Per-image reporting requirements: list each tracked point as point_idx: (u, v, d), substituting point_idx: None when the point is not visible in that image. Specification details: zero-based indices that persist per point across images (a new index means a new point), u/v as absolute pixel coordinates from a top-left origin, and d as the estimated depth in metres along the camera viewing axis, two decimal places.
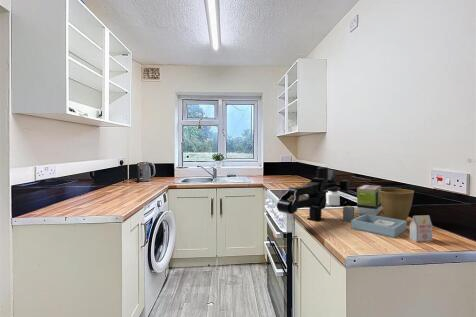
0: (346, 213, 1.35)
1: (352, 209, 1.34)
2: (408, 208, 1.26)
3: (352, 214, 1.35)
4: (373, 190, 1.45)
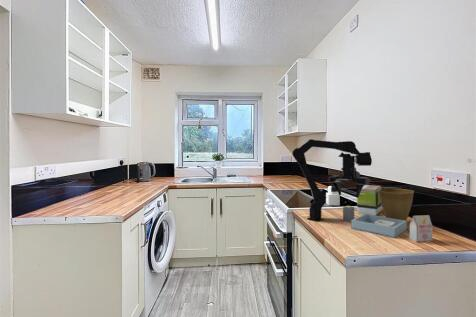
0: (346, 213, 1.35)
1: (352, 209, 1.34)
2: (408, 208, 1.26)
3: (352, 214, 1.35)
4: (373, 190, 1.45)
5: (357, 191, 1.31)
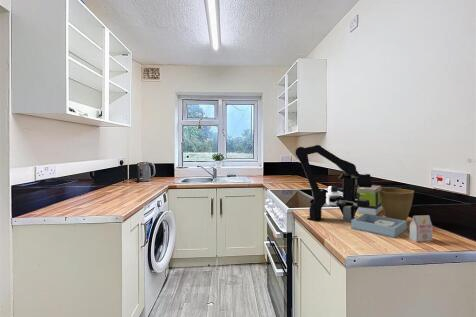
0: (346, 213, 1.35)
1: None
2: (408, 208, 1.26)
3: None
4: (373, 190, 1.45)
5: (352, 212, 1.33)
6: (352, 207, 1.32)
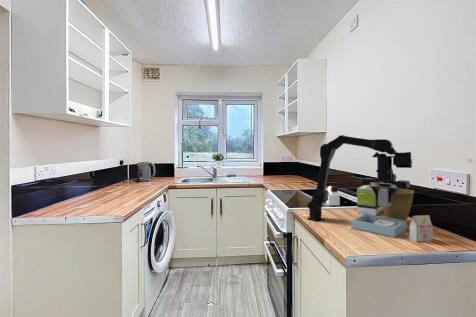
0: (382, 196, 1.18)
1: None
2: (408, 208, 1.26)
3: None
4: None
5: (389, 196, 1.16)
6: (390, 189, 1.15)
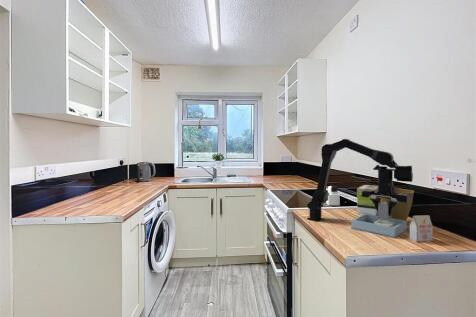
0: (382, 209, 1.18)
1: None
2: (408, 208, 1.26)
3: None
4: None
5: (390, 209, 1.16)
6: (390, 203, 1.15)
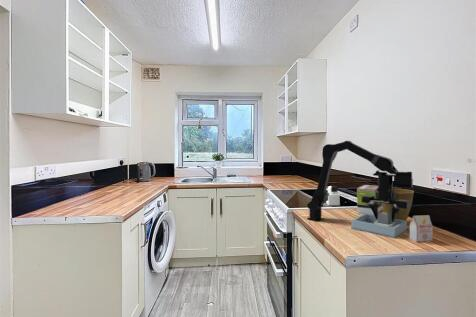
0: (382, 220, 1.19)
1: (389, 215, 1.18)
2: (408, 208, 1.26)
3: (389, 221, 1.18)
4: (373, 190, 1.45)
5: (393, 215, 1.15)
6: (393, 209, 1.14)
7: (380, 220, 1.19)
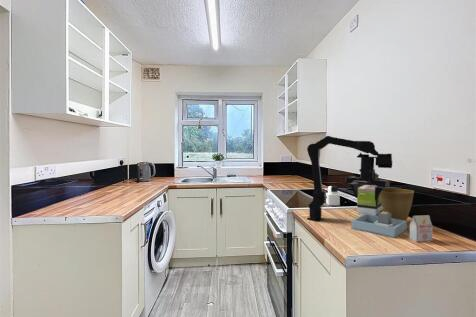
0: (382, 220, 1.19)
1: (389, 215, 1.18)
2: (408, 208, 1.26)
3: (389, 221, 1.18)
4: (373, 190, 1.45)
5: (376, 194, 1.24)
6: (376, 188, 1.22)
7: (380, 220, 1.19)
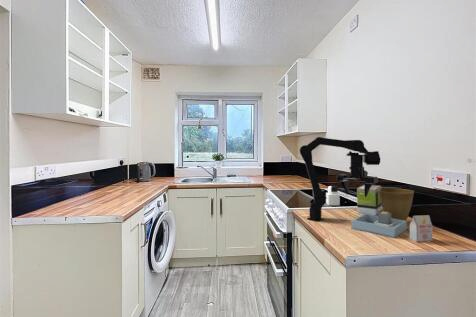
0: (382, 220, 1.19)
1: (389, 215, 1.18)
2: (408, 208, 1.26)
3: (389, 221, 1.18)
4: (373, 190, 1.45)
5: (365, 190, 1.30)
6: (365, 185, 1.28)
7: (380, 220, 1.19)
